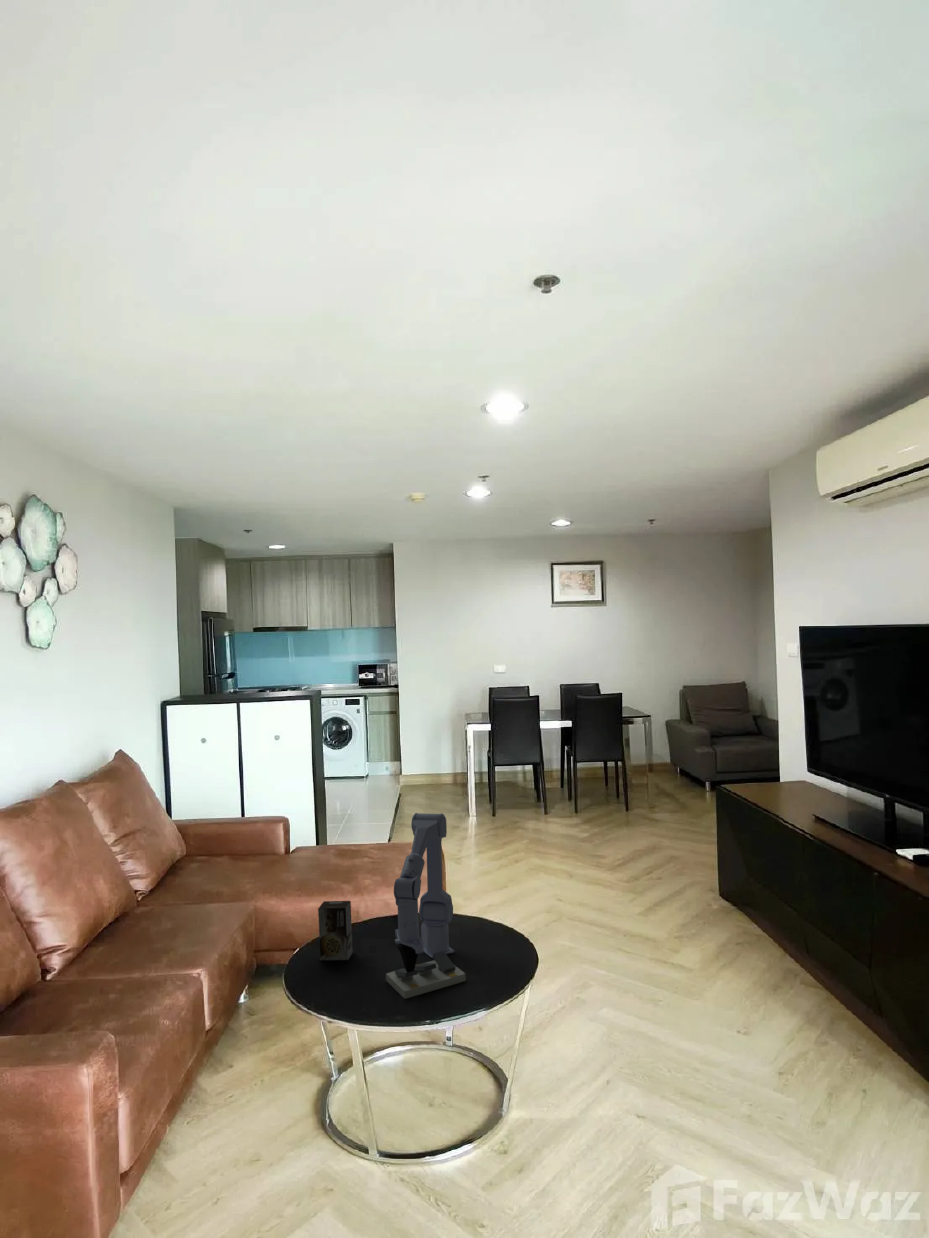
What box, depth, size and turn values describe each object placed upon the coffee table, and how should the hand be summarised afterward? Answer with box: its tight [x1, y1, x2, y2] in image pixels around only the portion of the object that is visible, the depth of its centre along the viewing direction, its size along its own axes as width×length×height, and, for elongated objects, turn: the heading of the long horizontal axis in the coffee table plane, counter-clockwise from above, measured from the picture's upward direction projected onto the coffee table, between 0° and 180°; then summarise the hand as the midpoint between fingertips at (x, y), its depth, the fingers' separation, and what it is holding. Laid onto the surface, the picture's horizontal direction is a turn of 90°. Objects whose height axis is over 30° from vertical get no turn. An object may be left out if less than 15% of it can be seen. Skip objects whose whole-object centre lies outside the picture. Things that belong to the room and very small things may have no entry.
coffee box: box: [317, 900, 354, 961], centre depth 222 cm, size 9×6×16 cm
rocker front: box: [394, 967, 417, 978], centre depth 200 cm, size 8×4×1 cm, turn 29°
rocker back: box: [432, 951, 456, 974], centre depth 205 cm, size 8×4×1 cm, turn 29°
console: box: [385, 959, 467, 1000], centre depth 202 cm, size 13×19×3 cm
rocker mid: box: [415, 962, 436, 971], centre depth 203 cm, size 8×4×1 cm, turn 29°
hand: (410, 970), depth 197 cm, fingers closed, pressing on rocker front
